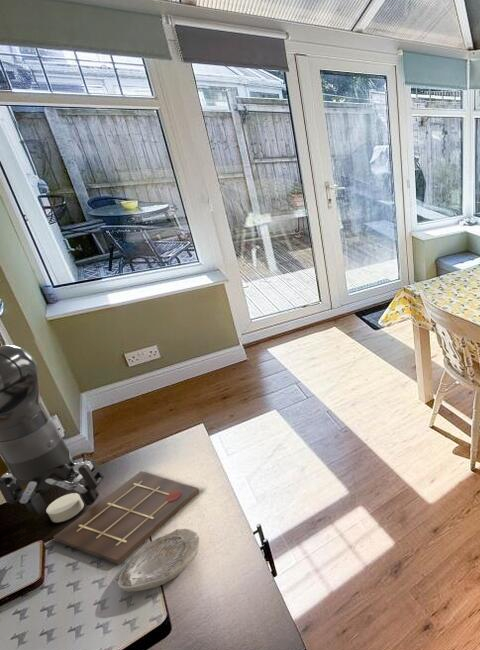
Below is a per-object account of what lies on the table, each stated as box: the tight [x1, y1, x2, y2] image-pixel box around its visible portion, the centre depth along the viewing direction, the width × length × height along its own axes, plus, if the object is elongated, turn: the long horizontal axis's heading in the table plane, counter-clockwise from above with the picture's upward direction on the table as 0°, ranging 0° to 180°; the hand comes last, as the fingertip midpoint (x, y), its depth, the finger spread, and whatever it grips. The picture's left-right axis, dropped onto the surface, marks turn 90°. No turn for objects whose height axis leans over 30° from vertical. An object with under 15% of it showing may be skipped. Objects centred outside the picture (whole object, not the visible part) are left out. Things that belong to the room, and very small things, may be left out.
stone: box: [45, 492, 85, 523], centre depth 83 cm, size 5×5×2 cm
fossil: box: [117, 528, 200, 592], centre depth 74 cm, size 10×12×3 cm
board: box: [53, 470, 200, 565], centre depth 83 cm, size 16×16×1 cm
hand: (67, 506), depth 84 cm, fingers open, 8 cm apart
